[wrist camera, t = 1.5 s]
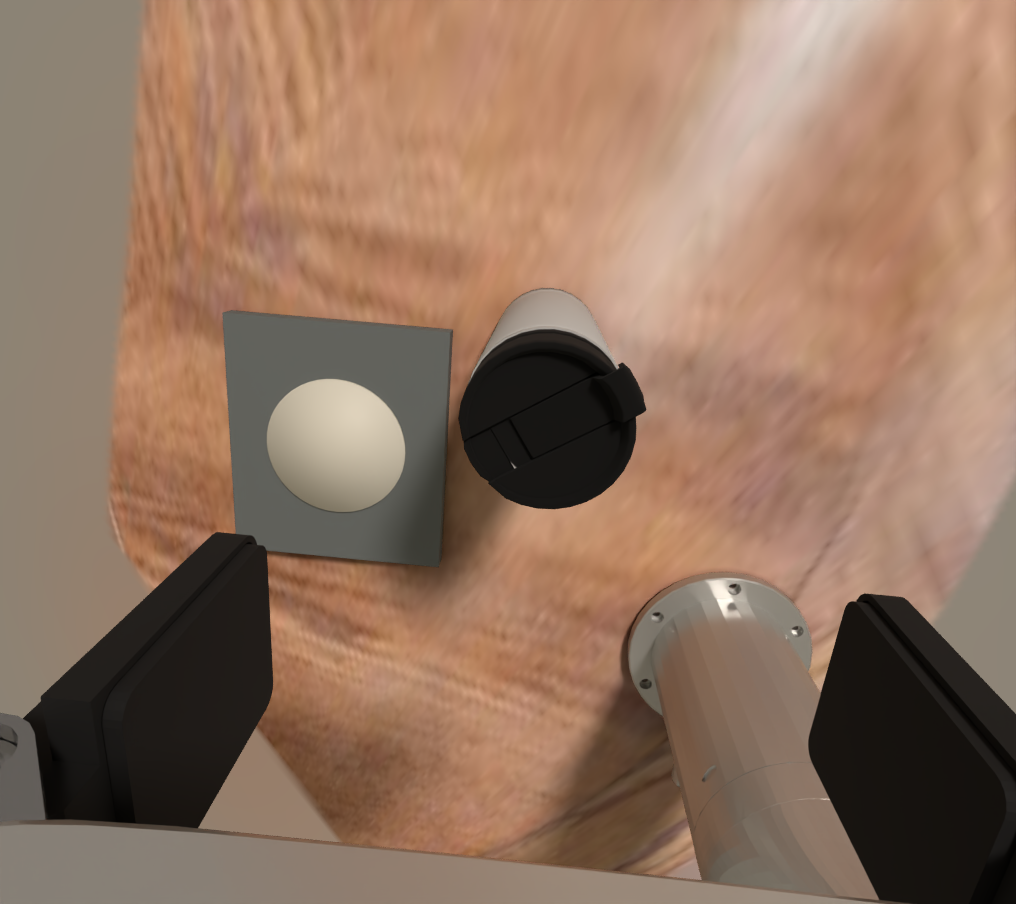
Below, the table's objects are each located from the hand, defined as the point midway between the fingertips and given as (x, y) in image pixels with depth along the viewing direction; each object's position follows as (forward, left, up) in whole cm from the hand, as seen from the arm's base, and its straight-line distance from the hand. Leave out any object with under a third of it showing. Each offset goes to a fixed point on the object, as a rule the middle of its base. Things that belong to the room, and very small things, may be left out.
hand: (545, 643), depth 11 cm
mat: (-8, +13, -32) cm, 36 cm away
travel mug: (0, 0, -32) cm, 32 cm away
